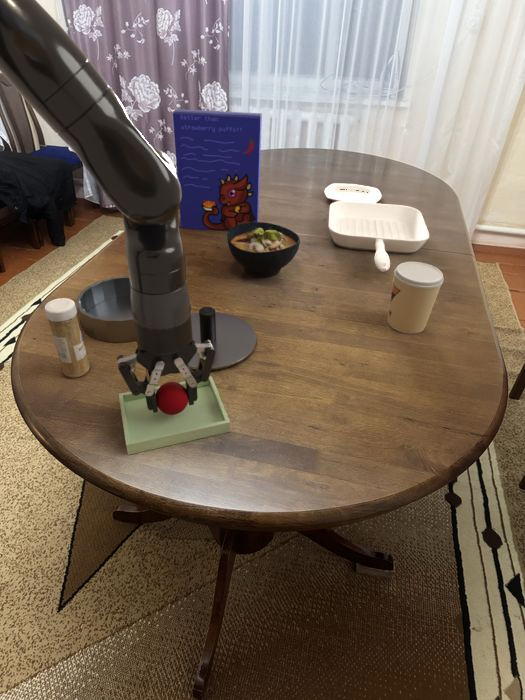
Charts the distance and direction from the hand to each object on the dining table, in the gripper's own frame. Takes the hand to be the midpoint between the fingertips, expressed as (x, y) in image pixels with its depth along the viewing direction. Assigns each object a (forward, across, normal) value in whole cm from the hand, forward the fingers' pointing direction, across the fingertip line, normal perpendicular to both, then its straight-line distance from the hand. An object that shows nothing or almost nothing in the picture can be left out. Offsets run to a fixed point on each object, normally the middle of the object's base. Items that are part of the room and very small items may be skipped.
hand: (172, 404), depth 72 cm
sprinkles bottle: (+3, +14, -16) cm, 22 cm away
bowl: (+3, -30, -44) cm, 53 cm away
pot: (+3, +4, -31) cm, 31 cm away
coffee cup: (+3, -51, -13) cm, 53 cm away
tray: (+3, 0, 0) cm, 3 cm away
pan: (+3, -65, -49) cm, 81 cm away
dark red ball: (-1, 0, 0) cm, 1 cm away
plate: (+3, -77, -86) cm, 115 cm away
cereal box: (+3, -27, -73) cm, 78 cm away
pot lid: (+2, -10, -18) cm, 21 cm away
